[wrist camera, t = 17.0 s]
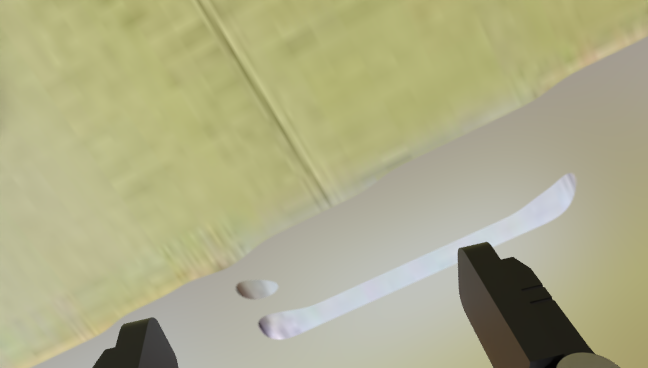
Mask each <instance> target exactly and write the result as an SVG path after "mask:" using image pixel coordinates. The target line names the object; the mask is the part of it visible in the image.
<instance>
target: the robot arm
mask: <svg viewBox="0 0 648 368" xmlns="http://www.w3.org/2000/svg"><path fill="white" fill-rule="evenodd" d="M458 277H459V279H458V280H459V294H460V299H461V302H462V305H463V308H464V311H465V313H466V315H467V317H468V319H469V321H470V323H471V325H472V327H473V328H474V331H475V333H476V334H477V336H478V338H479V340H480V342H481V344H482V346H483V348H484V350H485V352H486V354H487V356H488V358H489V360H490V362H491V364H492V366H493V368H620V367H619V366H618V365H616V364H615V363H614V362H612V361H610V360H609V359H607V358H604V357H602V356H599V355H596V354H595V353H594V352H593V351H592V350H591V349H590V348H589V346H588V345H587V344H586V342H585V341H584V340H583V338H582V337H581V336H580V334H579V333H578V332H577V330H576V329H575V327H574V326H573V325H572V323H571V322H570V321H569V319H568V318H567V317H566V316H565V314H564V313H563V311H562V310H561V309H560V307H559V306H558V305H557V303H556V302H555V301H554V300H552V296H551V295H550V294H549V292H548V291H547V290H546V288H545V287H543V285H542V283H541V282H540V280H539V279H538V278H537V276H536V275H535V274H534V272H533V271H532V270H531V268H529V267H528V266H526V265H524V264H523V263H521V262H520V261H518V260H517V259H515V258H514V257H510V258H506V259H502V260H501V259H500V258H499V257H498V255H497V253H496V252H495V250H494V249H493V247H492V246H491V245H490V244H489V243H488V242H484V243H480V244H476V245H471V246H467V247H463V248H459V249H458ZM93 368H178V363H177V359H176V356H175V353H174V351H173V350H172V348H171V346H170V344H169V342H168V340H167V338H166V336H165V335H164V332H163V331H162V329H161V327H160V325H159V323H158V321H157V320H156V319H155V318H148V319H144V320H139V321H135V322H130V323H126V324H124V325H123V326H122V327H121V329H120V332H119V336H118V340H117V343H116V347H114V348H110V349H106V350H105V351H104V352H103V354H102V355H101V356H100V358H99V359H98V361H97V362H96V363H95V365H94V366H93Z"/></svg>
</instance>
